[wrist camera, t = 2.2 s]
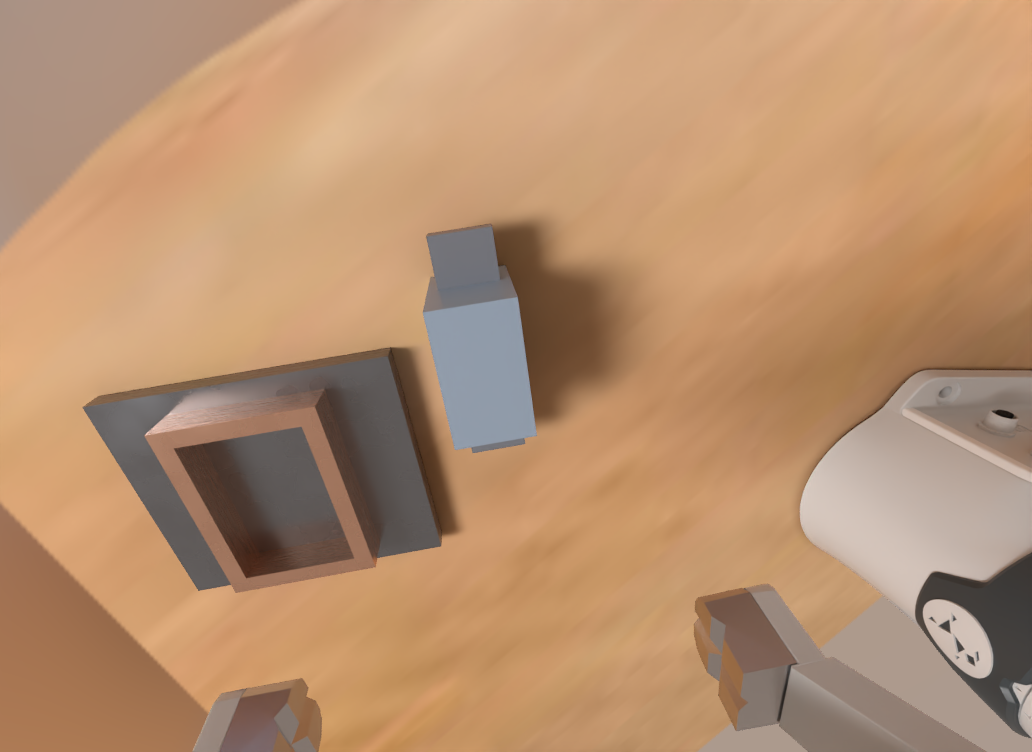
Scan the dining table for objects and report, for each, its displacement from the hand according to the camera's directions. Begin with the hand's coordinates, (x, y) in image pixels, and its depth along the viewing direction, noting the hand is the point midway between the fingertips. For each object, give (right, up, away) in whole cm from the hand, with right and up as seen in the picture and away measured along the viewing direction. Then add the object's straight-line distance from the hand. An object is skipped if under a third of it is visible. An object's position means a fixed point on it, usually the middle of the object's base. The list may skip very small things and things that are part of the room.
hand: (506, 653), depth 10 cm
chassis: (-14, 0, +19) cm, 24 cm away
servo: (-2, +8, +17) cm, 19 cm away
